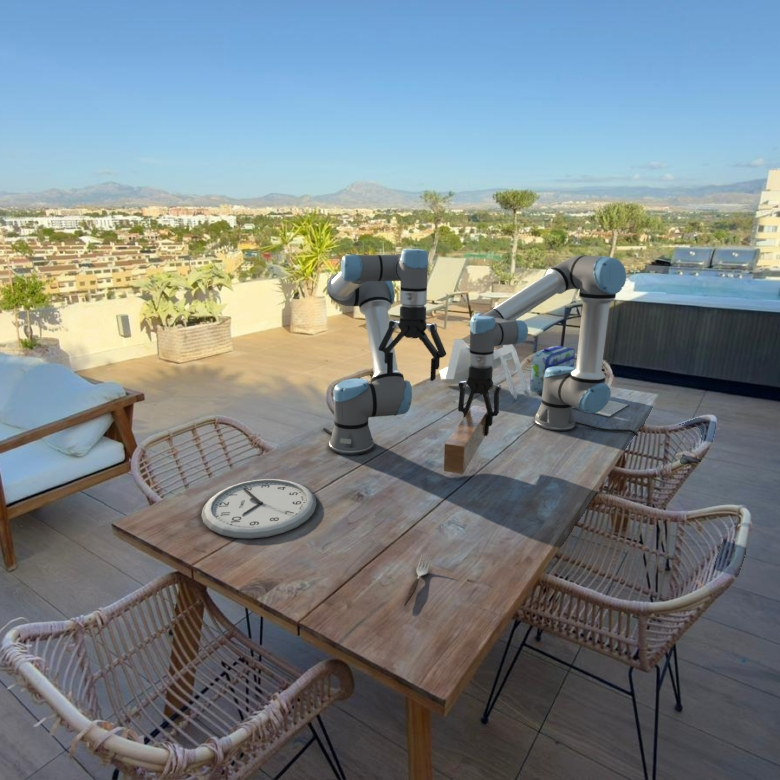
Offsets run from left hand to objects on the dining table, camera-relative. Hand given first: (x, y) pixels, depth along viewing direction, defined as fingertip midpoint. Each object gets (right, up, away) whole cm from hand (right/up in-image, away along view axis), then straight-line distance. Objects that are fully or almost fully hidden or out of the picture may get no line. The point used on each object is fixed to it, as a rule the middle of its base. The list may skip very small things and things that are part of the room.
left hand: (411, 377), depth 155 cm
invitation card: (+85, -11, +71) cm, 111 cm away
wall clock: (-41, -36, -14) cm, 56 cm away
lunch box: (+70, -4, +92) cm, 115 cm away
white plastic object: (+35, -5, +88) cm, 95 cm away
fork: (-1, -46, -44) cm, 63 cm away
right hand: (+23, -18, +18) cm, 34 cm away
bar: (+18, -22, +7) cm, 29 cm away
